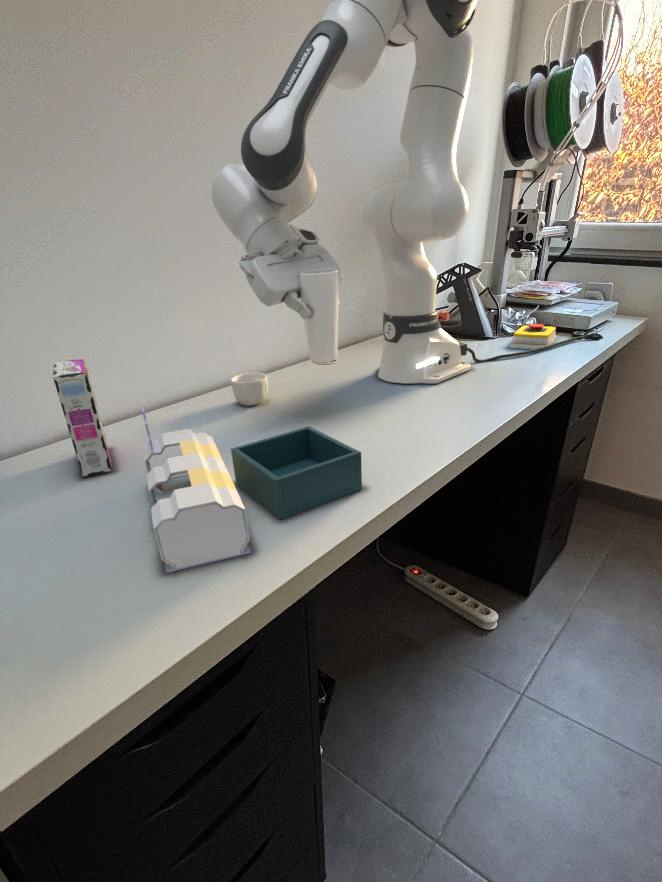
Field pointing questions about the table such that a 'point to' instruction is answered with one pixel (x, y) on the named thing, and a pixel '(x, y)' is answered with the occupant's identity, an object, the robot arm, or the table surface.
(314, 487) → the bin
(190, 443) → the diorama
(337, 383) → the table surface
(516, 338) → the emergency button
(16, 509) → the table surface
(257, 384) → the teacup
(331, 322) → the drinking glass
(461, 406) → the table surface
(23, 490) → the table surface
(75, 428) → the candy bar box
